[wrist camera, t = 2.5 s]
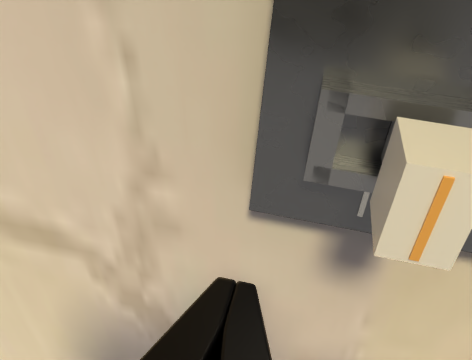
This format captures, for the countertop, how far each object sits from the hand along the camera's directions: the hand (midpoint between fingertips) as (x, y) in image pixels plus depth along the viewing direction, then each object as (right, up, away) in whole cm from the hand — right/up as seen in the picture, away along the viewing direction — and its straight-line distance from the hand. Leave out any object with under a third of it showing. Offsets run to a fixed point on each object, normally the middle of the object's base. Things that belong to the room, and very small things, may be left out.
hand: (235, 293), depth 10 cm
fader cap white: (+7, +4, +7) cm, 11 cm away
